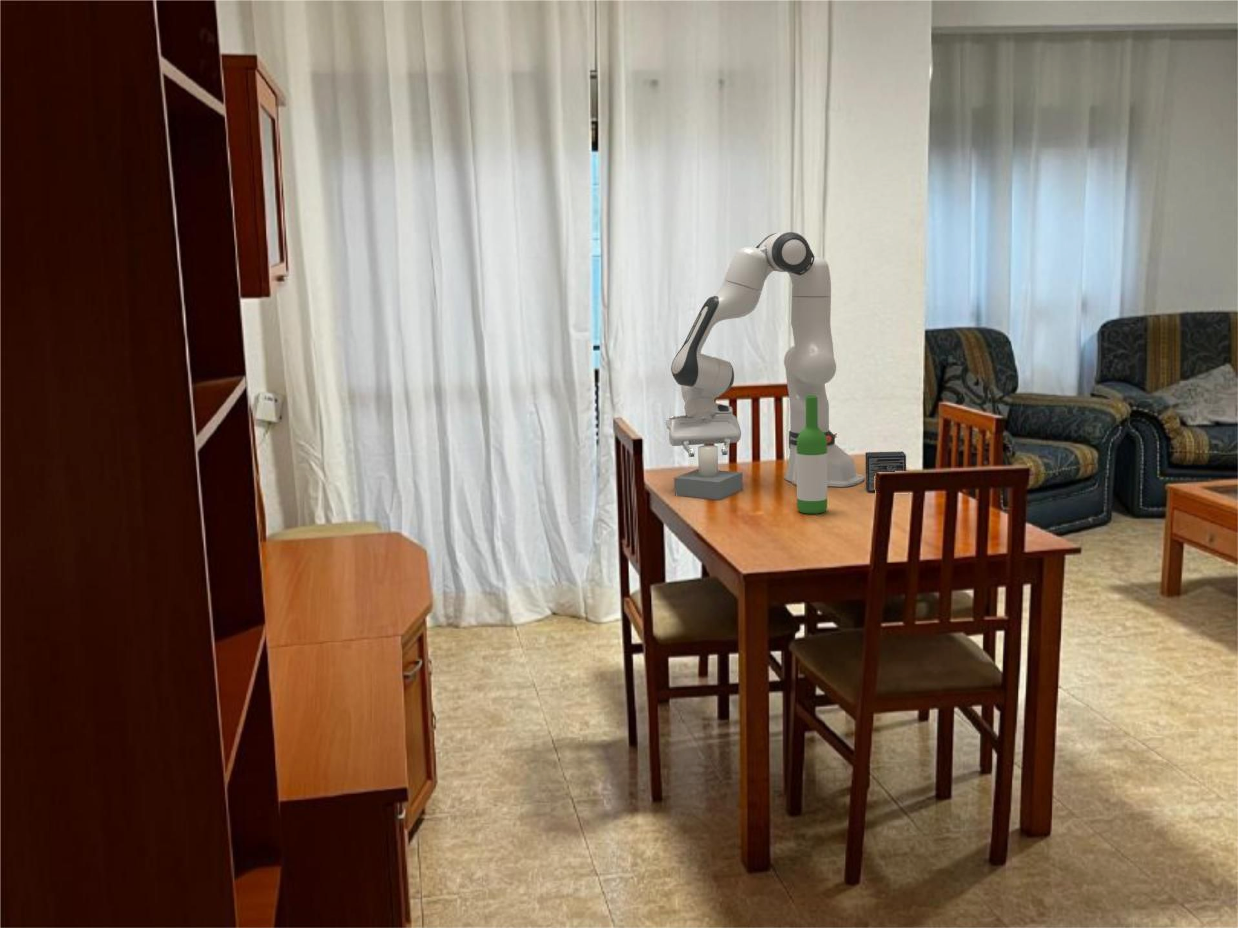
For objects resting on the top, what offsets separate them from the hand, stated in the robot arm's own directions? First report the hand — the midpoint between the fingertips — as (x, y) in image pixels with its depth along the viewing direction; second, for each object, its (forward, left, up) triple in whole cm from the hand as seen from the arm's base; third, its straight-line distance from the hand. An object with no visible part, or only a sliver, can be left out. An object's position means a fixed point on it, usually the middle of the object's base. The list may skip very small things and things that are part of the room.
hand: (708, 454), depth 327 cm
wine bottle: (-35, +8, -11) cm, 37 cm away
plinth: (0, 0, -11) cm, 11 cm away
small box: (-43, -23, -11) cm, 50 cm away
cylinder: (0, 0, -6) cm, 6 cm away
